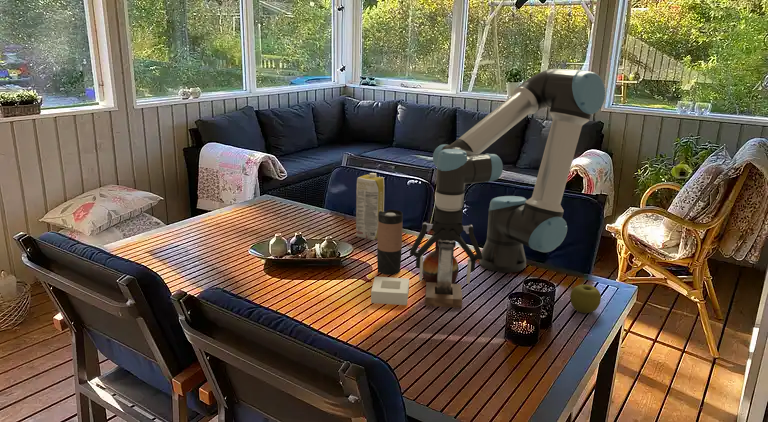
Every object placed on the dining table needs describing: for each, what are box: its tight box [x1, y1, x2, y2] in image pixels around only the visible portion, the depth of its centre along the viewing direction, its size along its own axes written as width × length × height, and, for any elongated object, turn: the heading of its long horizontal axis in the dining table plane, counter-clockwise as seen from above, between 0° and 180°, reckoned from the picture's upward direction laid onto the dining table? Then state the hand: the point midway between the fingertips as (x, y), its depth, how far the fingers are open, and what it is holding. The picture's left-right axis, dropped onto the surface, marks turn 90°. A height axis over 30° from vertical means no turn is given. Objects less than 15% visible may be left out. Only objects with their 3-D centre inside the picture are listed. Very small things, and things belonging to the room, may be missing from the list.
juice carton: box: [355, 172, 385, 241], centre depth 207 cm, size 9×8×24 cm
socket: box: [370, 276, 410, 306], centre depth 160 cm, size 10×10×4 cm
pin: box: [436, 239, 457, 295], centre depth 157 cm, size 5×5×17 cm
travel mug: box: [376, 209, 404, 276], centre depth 175 cm, size 8×8×20 cm
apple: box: [569, 284, 602, 314], centre depth 155 cm, size 8×8×7 cm
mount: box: [424, 281, 463, 309], centre depth 159 cm, size 10×10×4 cm
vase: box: [422, 239, 460, 284], centre depth 170 cm, size 11×11×15 cm
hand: (444, 280), depth 157 cm, fingers open, 12 cm apart
